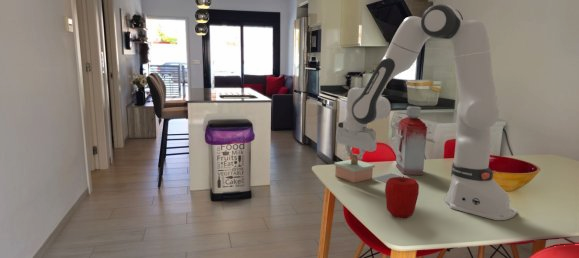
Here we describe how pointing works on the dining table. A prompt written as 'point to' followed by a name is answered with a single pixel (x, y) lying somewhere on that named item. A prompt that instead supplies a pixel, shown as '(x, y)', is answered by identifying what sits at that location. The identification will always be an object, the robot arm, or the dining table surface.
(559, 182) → the dining table surface
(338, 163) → the lid
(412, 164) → the bottle
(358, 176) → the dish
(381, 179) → the mat
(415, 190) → the apple
